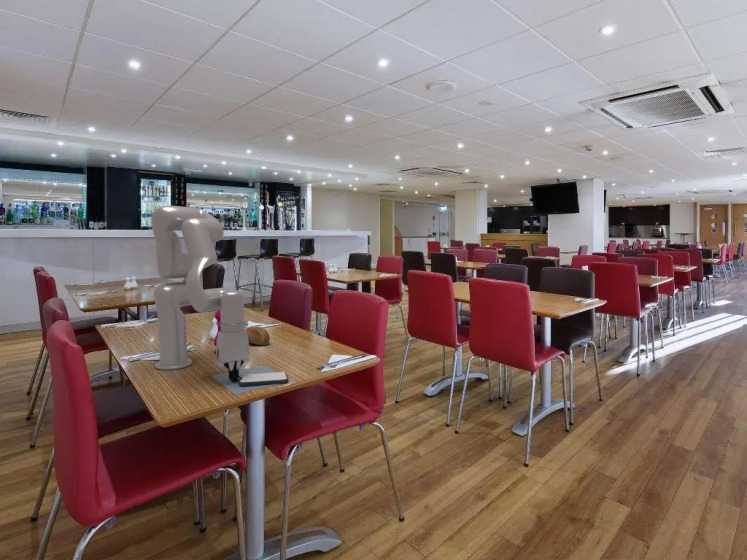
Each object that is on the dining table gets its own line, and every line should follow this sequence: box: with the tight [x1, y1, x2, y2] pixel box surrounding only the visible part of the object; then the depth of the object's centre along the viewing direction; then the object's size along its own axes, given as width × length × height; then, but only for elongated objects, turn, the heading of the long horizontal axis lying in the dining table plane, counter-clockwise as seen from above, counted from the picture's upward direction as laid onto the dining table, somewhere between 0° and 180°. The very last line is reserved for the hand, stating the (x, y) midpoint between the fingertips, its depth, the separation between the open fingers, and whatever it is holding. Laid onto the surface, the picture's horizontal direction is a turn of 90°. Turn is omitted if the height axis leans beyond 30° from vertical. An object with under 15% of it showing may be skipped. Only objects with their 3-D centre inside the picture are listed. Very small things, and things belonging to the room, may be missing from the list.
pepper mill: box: [213, 310, 221, 354], centre depth 178 cm, size 7×7×20 cm
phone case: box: [239, 371, 289, 386], centre depth 144 cm, size 9×2×16 cm
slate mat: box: [211, 365, 292, 395], centre depth 147 cm, size 22×20×1 cm
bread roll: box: [245, 325, 271, 346], centre depth 194 cm, size 10×15×8 cm, turn 53°
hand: (233, 380), depth 143 cm, fingers closed
